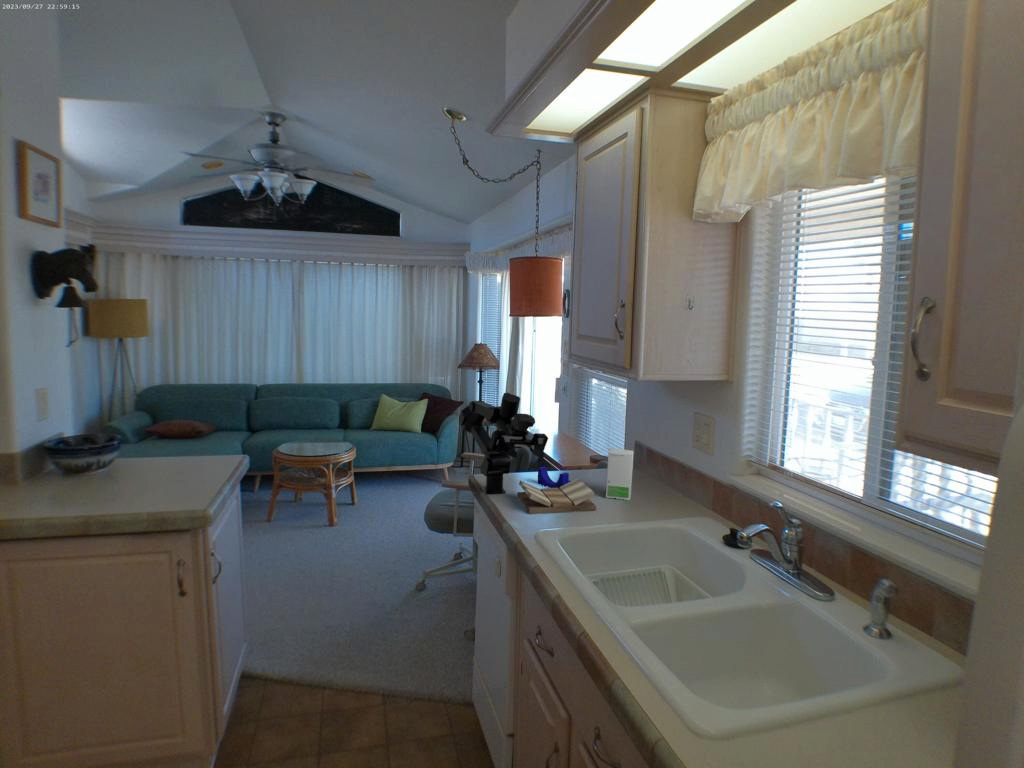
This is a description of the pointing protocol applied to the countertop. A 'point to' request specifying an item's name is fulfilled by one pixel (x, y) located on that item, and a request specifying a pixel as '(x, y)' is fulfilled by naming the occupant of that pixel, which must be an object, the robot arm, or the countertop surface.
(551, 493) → the mating strip
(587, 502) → the board
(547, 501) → the plank near
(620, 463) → the skincare box
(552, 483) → the cable clip
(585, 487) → the plank far
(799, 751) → the countertop surface
